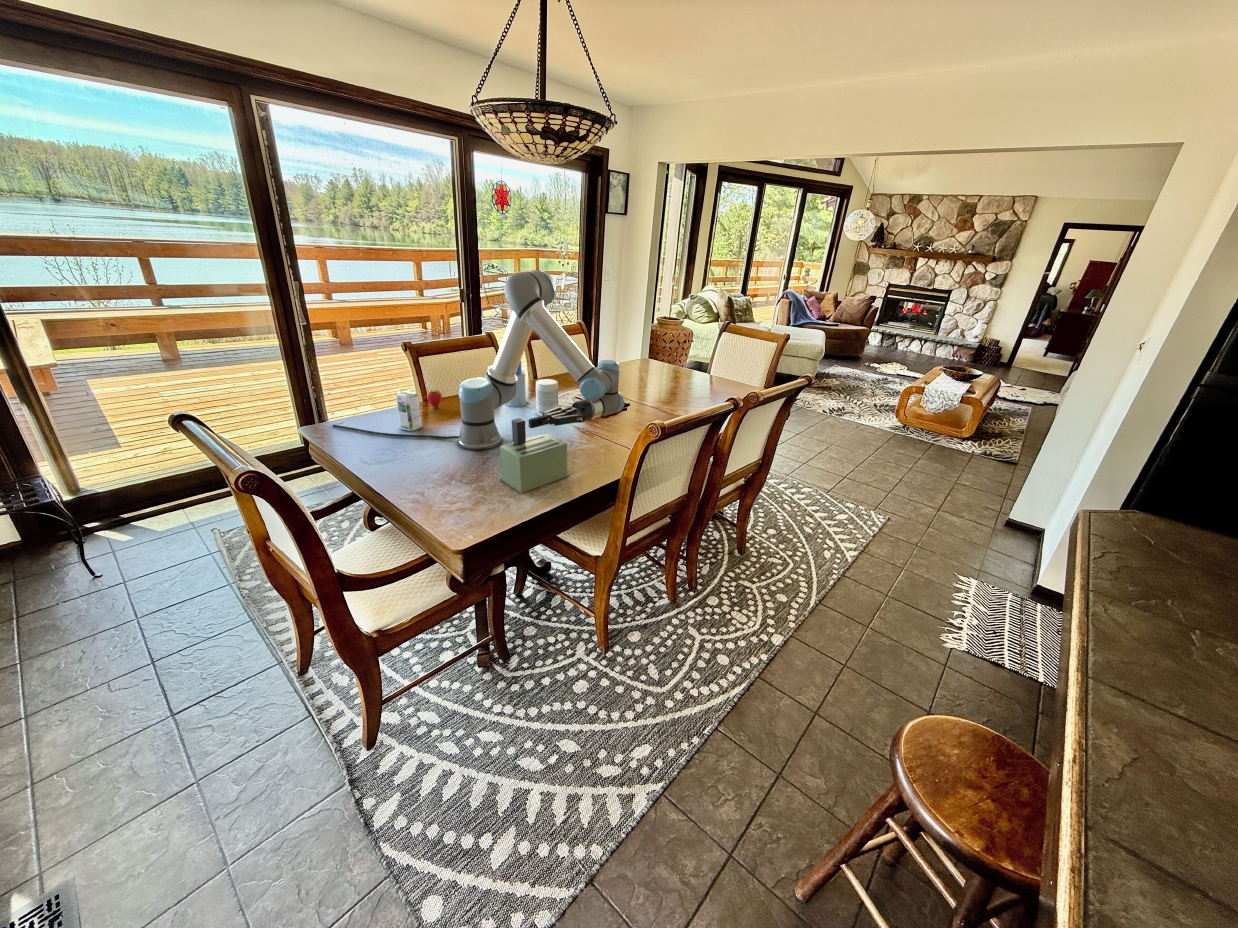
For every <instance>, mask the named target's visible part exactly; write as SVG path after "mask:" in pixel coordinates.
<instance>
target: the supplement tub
mask: <svg viewBox="0 0 1238 928" xmlns="http://www.w3.org/2000/svg"><path fill="white" fill-rule="evenodd" d="M558 383H559V382H558V380H556V379H551V378H546V379H545V378H541V379H538V380H536V381H535V398H536V399H535V400H536V414H537V415H538V417H540V416H543V412H545V411H548V410H550V409H553V408H556V407H557V406H559V384H558Z"/></svg>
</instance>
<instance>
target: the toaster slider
mask: <svg viewBox="0 0 1238 928" xmlns="http://www.w3.org/2000/svg"><path fill="white" fill-rule="evenodd" d="M526 432H527V431H526V420H525V419H522V418H521V417H518V418H514V419H511V436H512V443H515V444H517V445H520V444H524V443H526V439H527V433H526Z"/></svg>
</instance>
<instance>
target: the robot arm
mask: <svg viewBox="0 0 1238 928" xmlns="http://www.w3.org/2000/svg"><path fill="white" fill-rule="evenodd" d="M503 288H504V289H503V291H504V298H505V301H506V302H507V304H508V306H509V307H510V309H511V310H512V313H511V314H510V318H509V321H508V323H507V326H506V330H505V332H504V335H503V338H502V340H501V344H500V346H499V348H498V350H497V351H498V352H497V354H496V357H495V359H494V362H493V365H490V366H488V367H487V369H486V373H485V375H484V377H473V378H468V379H466V380H464V381H462V382H461V383H460V384H459V386H458V398H459V406H460V407H459V408H460V418H461V426H460V430H459V435H452V436H451V435H449V436H448V435H447V436H442V435H431V434H401V433H388V432H379V431H373V430H367V429H361V428H355V427H352V426H351V427H350V426H346V425H345V426H344V425H338V424H332V427H333V428H337V429H338V428H339V429H344V430H349V431H356V432H361V433H365V434H372V435H379V436H389V437H400V438H401V437H402V438H429V439H440V440H451V439H458V446H460V447H461V448H462V449H466V450H470V451H482V450H490V449H492V448H495V447H497V446H500V444H501V442H502V436H501V433H500V432H499V430H498V427H497V425H496V422H495V410H497V409H498V408H500V407H502V406H504V405H507V403H508V402H509V401H511V400H512V399H513V398H514V397H515V395H516V393H517V384H516V382H517V376H516V374H515V373H516V371H517V368H518V366H519V363H520V361H521V362H522V358H523V355H524V353H525V350H526V348H527V345H528V343H529V340H530V337H531V335H532V332H534V333H535V334H536V335H537V336H538V338H539V339H540V340H541V341H542V342H543V343H544V345H545V346H546V347H547V349H548V350H550V352H551V353H552V354H553V355H554V357H555V358H556V359H557V360H558V361H559V362H560V364H561V365H562V366H563V367H564V368H565V369H566V370H567V372H568V373H569V374H570V375H571V376H572V378H573V379H574V380H575V381H576V382H577V384H578V385H579V391H580V394H581V396H582V397H583V398H582V399H578V400H575V401H574V402H573V403H572V405H568V406H565V407H562V405H560V404H558V406H557V407H556V408H553V409H550V410H548V411H545V412H543V416H537V417H532V418H528V428H530V429H536V428H539V427H544V426H547V425H550V426H551V425H553V426H554V427H555V426H562V425H563V426H564V425H569V424H576V423H577V424H580V423H584V422H588V421H591V420H593V421H594V420H595V419H598V418H601V417H605V416H610V415H614V414H616V413H619V412H621V411H622V410H623V409H624V406H625V400H624V396H623V394H622V393H621V392H620V391H619V384H620V383H619V382H620V372H621V371H620V363H619V362H618V361H616V360H614V359H613V360H612V359H602V360H599V361H598V364H597V368H596V367H595V366H594V365H593V364H592V362H591V361H590V360H589V359H588V357H587V356H586V355H585V353H583V352H582V350H581V348H579V346H578V345H577V344H576V343H575V342H574V341H573V340H572V338H571V337H570V336H569V335H568V334H567V332H566V331H565V330H564V329H563V327H562V326H561V325H560V324H559V323H558V321H557V320H556V319H555V318H554V316H552V315H551V313H550V312H549V311H548V310H547V307H548V305H550V304H551V303H552V302H553V301H554V299H555V298H556V295H557V285H556V283H555V280H554V278H553V276H551V274H549V273H548V272H547V271H544V270H540V269H531V270H523V271H522V270H521V271H516V272H513V273H512V274H511V275H509V276H508V278H507V279H506V281H505V284H504V287H503Z"/></svg>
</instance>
